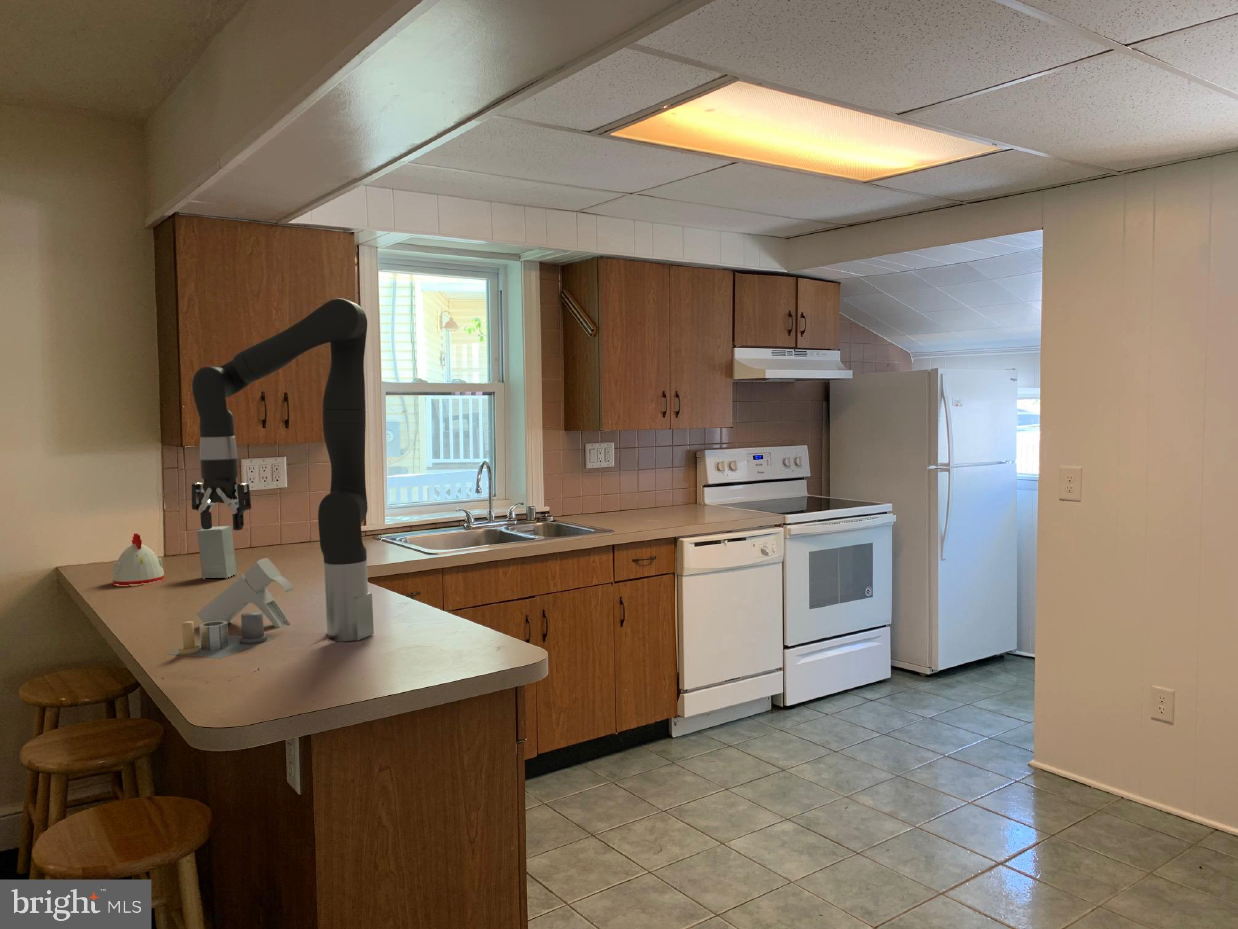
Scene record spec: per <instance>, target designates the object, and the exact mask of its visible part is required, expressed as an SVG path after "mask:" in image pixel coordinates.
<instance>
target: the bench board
mask: <svg viewBox="0 0 1238 929" xmlns="http://www.w3.org/2000/svg"><path fill="white" fill-rule="evenodd" d="M240 619H241V620H240V623H241V635H234V634H232V635H230V634H228V643H229V646H228V647H225V648H223V649H217V650H201V645H200V642H197V643H196V642H195V639H196V638H195V626H194V624H195V623H194V621H193V620H192V621H191V620H188V621H183V622H181V630H182V632H181V633H182V647H179V648H178V649H177V650H174V651H172V652H168V653H167V655H172V656H185V657H187V656H188V657H196V658H198V657H200V658H210V659H212V658H213V659H225V658H227V657H229V656H232V655H234V654H236V653H239V652H242V651H245V650H247V649H250V648H253V647H256V646H259V645H261V644H263V643H266V642H269V641H272V640H274V639H275V638H272V637H267V636H268V634H267V633H264V632H265V630H264V613H263V612H262V611H249V612H244V613H241V614H240Z"/></svg>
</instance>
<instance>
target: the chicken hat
mask: <svg viewBox="0 0 1238 929" xmlns="http://www.w3.org/2000/svg"><path fill="white" fill-rule="evenodd" d="M112 572H113V574H112V585H113V584H119V585H129V584H141V583H149V582H153V581H158V580H162V579H163V578H164V579H165V572H164V566H163V562H162V558H161V557H158V556H157V554H156V553H155V552H154V551H153V550H152V549H151V548H150V547H148V546H147V545H145V544H142V539H141V534H139V533H133V536H132V539H131V545H129V546H127V548H126V549H124V550H123V551H122V553H121V554H120V555H119V557H118V559H117V561H114V563H113V570H112Z"/></svg>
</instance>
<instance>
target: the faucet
mask: <svg viewBox="0 0 1238 929" xmlns="http://www.w3.org/2000/svg"><path fill="white" fill-rule="evenodd" d="M273 582H276V583H278V584H279V585H280V586H281V588H283V590H284V592H285V593H288V592H290V591H292V590H294V586H293V585H292V583H291V582H290V581H289V580H288V579H287V578H285V577H284V576H282V573H281V572H280V571H279V569H278V568H277V567H276V566H275V565H274V563H273V562H272V560H270V559H269V558H268V557H265V558H264V557H263V558H261V559H259V560H257V561H255V563H253V565H251V567H249V569H248V570H246V571H245V572H244V573H243V575H241V576H240V577H239V578H237V579H236V580H235V581H234V582H233V583H231V584H230V585H229V586H228V587H227V588H225V589H224V590H223V591H222V592H221V593H219V594H218V595H217V596H216V597H214V598H213V599H212V600H211V601H209V602H208V603H207V604H206V605H205V606H204V607H202V608H201V609H200V610H199V611H197V612H196V613H195V614H196V615H197V617H198V618H199V619H200V621H201V622H202V623H205V622H211V621H227V624H229V623H231V621H232V620H233V619H234V618H235V617H236V616H238V614H240V613H241V611H242V610H244V609H245V608H246V607H247V606H248V605H249V604H253V605H255V606H256V607H257V608H258V609H259V610H260V612H263V615H264V616H265V617H266V618H267V619H268V621H270V623H271V624H272V626H274V628H281V627H282V626H291V621H290V620H289V618H288V617H287V615H286V614H285V612H284V611H283V609H282V608H281V606H280V605H279V603H278V602H277V601H276V599H275V598H274V597H273V596H272V594H271V593H270V592H269V590H268V589H267V587H268V586H269V585H271V584H272V583H273Z"/></svg>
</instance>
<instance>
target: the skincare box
mask: <svg viewBox="0 0 1238 929" xmlns="http://www.w3.org/2000/svg"><path fill="white" fill-rule="evenodd" d="M196 534H197V535H196V536H197V544H198V550H199V552H198V553H199V561H200V569H201V577H202V578H225V579H229V578H231V576H232V577H234V576H233V575H235V574H236V575H237V574H238V572H237V571H238V570H237V561H236V554H235V546H234V536H233V525H222V526H221V525H220V526H212V528H211V529H207V530H204V529H202V528H201V529H198V530H197V531H196ZM236 575H235V576H236ZM228 577H229V578H228ZM202 578H201V579H202Z"/></svg>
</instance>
